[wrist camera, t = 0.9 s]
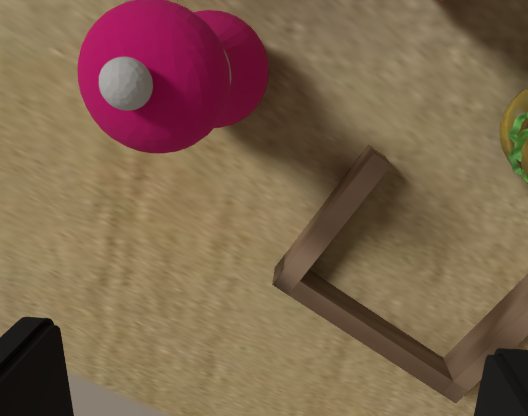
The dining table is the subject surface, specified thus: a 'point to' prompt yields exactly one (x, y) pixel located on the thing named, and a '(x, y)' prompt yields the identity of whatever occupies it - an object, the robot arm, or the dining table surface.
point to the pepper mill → (169, 73)
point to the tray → (373, 326)
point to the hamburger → (516, 134)
